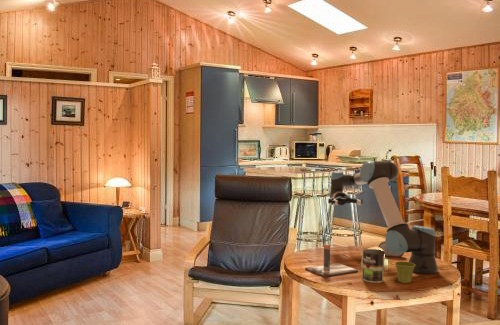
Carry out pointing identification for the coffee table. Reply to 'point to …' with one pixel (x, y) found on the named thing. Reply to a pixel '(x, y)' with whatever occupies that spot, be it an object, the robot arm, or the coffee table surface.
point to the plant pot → (404, 271)
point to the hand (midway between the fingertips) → (348, 203)
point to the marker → (326, 257)
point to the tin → (389, 252)
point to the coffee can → (373, 265)
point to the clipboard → (331, 270)
